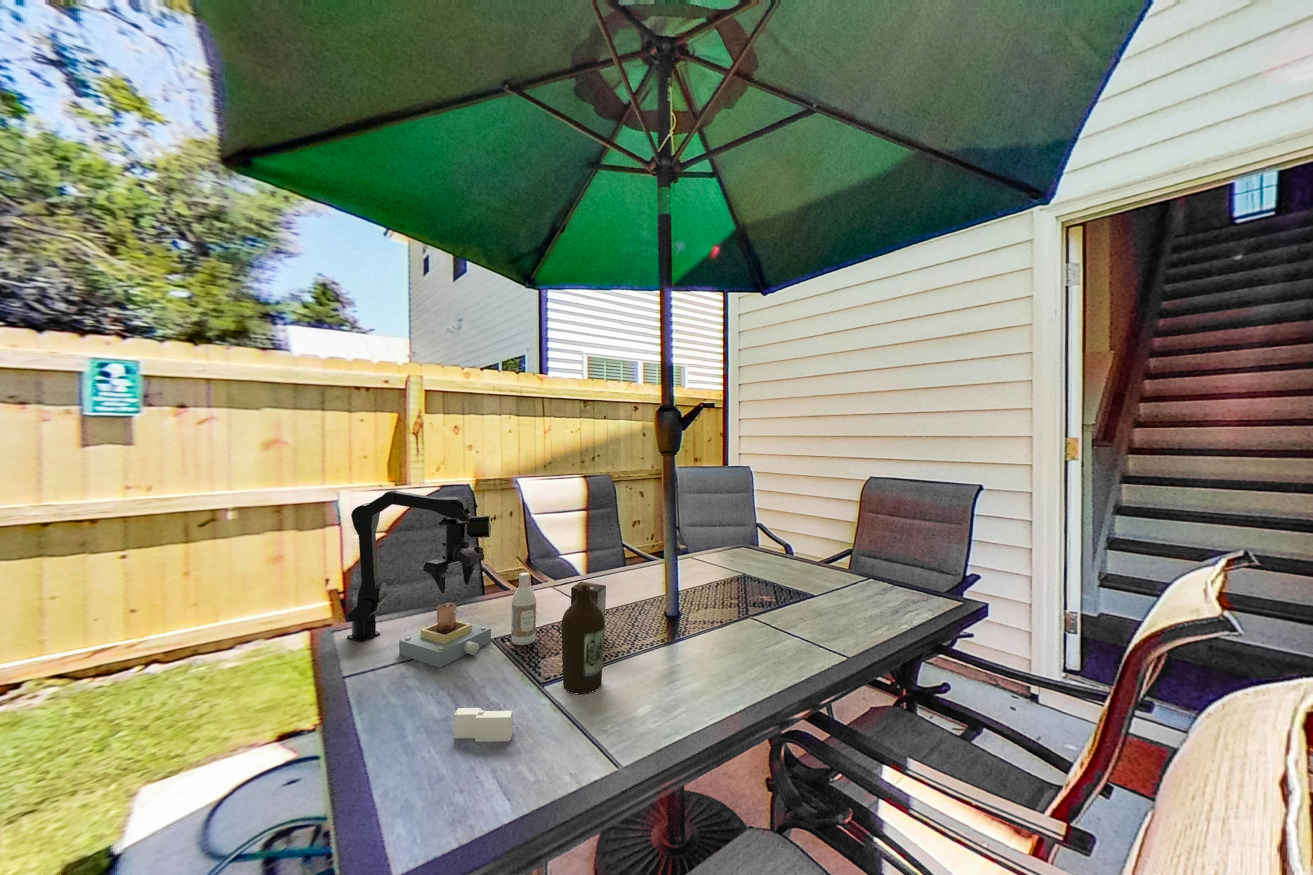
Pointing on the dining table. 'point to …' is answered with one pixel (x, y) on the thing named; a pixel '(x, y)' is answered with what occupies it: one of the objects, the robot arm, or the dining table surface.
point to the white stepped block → (483, 724)
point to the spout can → (446, 618)
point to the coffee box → (593, 596)
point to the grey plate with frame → (444, 643)
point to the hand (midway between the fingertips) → (455, 588)
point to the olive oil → (582, 643)
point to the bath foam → (523, 613)
